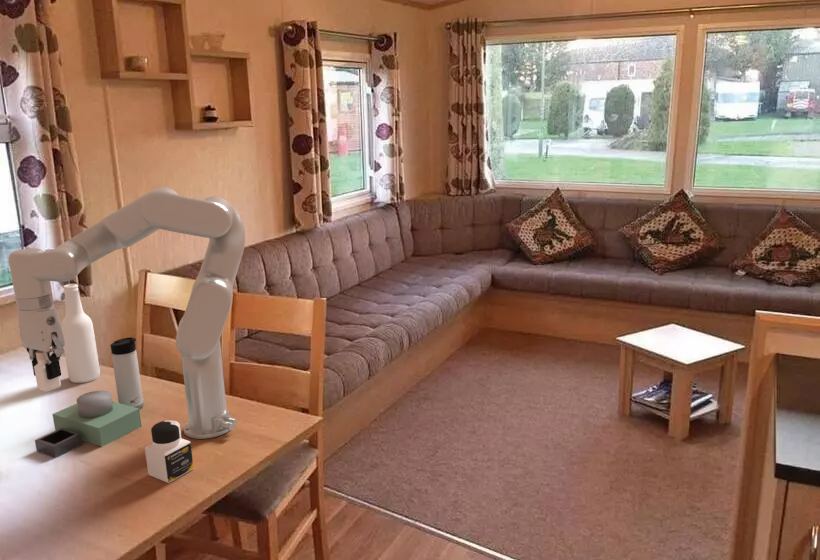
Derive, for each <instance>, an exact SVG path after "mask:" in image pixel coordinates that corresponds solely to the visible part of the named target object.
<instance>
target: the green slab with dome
mask: <svg viewBox="0 0 820 560" xmlns="http://www.w3.org/2000/svg"><path fill="white" fill-rule="evenodd" d="M112 400H113V399H112V393H111V392H110V391H109V390H108V391H107V390H94V391H90V392H86V393H84V394H82V395H79V396H78V397H77V398H76V403H75V404H72V405H71V406H67V407H66V408H64V409H61V410H59V411H56V412H54V413H52V419H53V425H54V431H56V430H58V429H60V428H65V429H68V430H71V431H74V432H77V433H80V434H81V439H82V442H86V443H89V444H93V445H95V446H99V447H102V448H103V447H104V446H106V445H108V444H110V443H112V442H113V441H115V440H118V439H119V438H122V437H123V436H125V435H127V434H129V433H132V432H133V431H135V430H137V429H139V428H140V427H142V426H143V425H142V420H141V412H140V409H139V408H135V407H131V406H128V405H124V404H120V403H119V402H116V401H112Z"/></svg>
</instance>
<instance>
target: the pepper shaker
mask: <svg viewBox="0 0 820 560" xmlns="http://www.w3.org/2000/svg"><path fill="white" fill-rule="evenodd" d="M52 353H53V352H50V353H49V355H50V356H51V354H52ZM36 358H37V361H38V364H36V365H35V366H34V370H35V376H34V377H35V381H36V385H37V389H38V390H40V391H43V392H46V393H47V392H49V391H52V390H55V389H59V388H60V387H62V382H61V376H59V377H56V378H54V379H51V380H49V379H47V373H46V368H45V364H46V363H47V362H46V359H45V356H44V353H43V351H39V350H38V351H36Z"/></svg>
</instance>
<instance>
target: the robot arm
mask: <svg viewBox="0 0 820 560" xmlns="http://www.w3.org/2000/svg"><path fill="white" fill-rule="evenodd" d="M159 230H163V231H168V232H173V233H177V234H184V235H189V236H195V237H200V238H205V239H206V238H208V240H209V241H208V245H207V248H206V252H205V255H204V257H203V260H202V264H201V267H200V269H199V271H198V274H197V276H196V279H195V280H194V282H193V284H192V288H191V293H190V296H189V299H188V302H187V304H186V308H185V312H183V316H182V317H181V319H180V321H179V323H178V326H177V331H176V335H175V344H176V348H177V350H178V352H179V353H180V354H181V363H182V371H183V380H184V381H183V382H184V389H185V399H186V406H187V407H186V408H187V417H188V421H187V422H186V423H184V425H183V428H182V429H183V433H184V435H186V437H189V438H192V439H199V440H202V439H203V440H204V439H211V438H216V437H219V436H222V435H225V434H226V433H228V432H230V431H233V430H234V429H235V425H236V424H237V423H238V419H236V418H234V417H233V416H232V415H231V411H230V410H228V408H227V400H226V391H225V390H226V389H225V380H224V371H223V370H224V369H223V368H224V366H223V359H222V347H221V336H222V334H223V332H224V328H225V326H226V323H227V320H228V317H229V315H230V311H231V310H232V309H231V308H232V305H233V297H234V296H233V295H234V294H233V293H234V292H233V290H234V289H233V288H234V283H235V280H236V277H237V275H238V272H239V267H240V265H241V262H242V257H243V254H244V251H245V245H246V232H245V231H246V230H245V226H244V222H243V219H242V217H241V216H240V214H239V212H238V211H237V209H235V207H234V206H233V205H232V204H231V202H229V201H228V200H226V199H225V198H222V197H220V196H216V195H215V196H207V197H206V198H204V199H200V198H194V197H190V196H184V195H180V194H179V193H178V192H177V191H175V190H174V189H173V188H170V187H167V186H161V187H157V188H154V189H152V190H151V191H149V192H146V193H145V194H143V195H141V196H140V197H137V198H136V199H135V200H132V201H131V202H129V203H127V204H126V205H124V206H122V207H121V208H119V209H117V210H115V211H113V212H112V213H110V214H108V215H107V216H105V217H104V218H102V219H101V220H100V221H99V222H97V223H96V224H94V225H92V226H90V227H89V228H87V229H85V230H83V231H82V232H79V233H78V234H76V235H74V236H73V237H71V238H69V239H68V240H66V241H64V242H63V243H61V244H59V245H58V246H57V247H55V248H54V249H52V250H49V251H44V250H43V249H41V248H23V249H18V250H14V251H12V252H11V253H9V255H8V265H9V271H10V276H11V282H12V287H13V293H14V297H15V298H14V299H15V303H16V310H17V314H18V329H19V334H20V339H21V344H22V347H24V348H25V350H26V352H27V353H28V355H29V360H31V365H32V371H33V376H34V377H36V376H35V370H34V366H35V365H36V364H38V361H37V358H36V351H38V350H39V351H43V353H44V356H45V359H46V362H47V363H46V364H45V368H46V373H47V379H49V380H51V379H54V378H56V377H59V376H60V377H61V375H62V369H61V365H60V360H61V357H62V355H63V354H65V351H64V346H65V339H64V334H63V330H62V325H61V322H62V321H61V318H60V316H59V313H58V311H57V308H56V306H55V302H54V295H53V289H52V284H51V283H52V282H60V283H61V282H62V283H63V282H69V281H72V280H73V279H75V278H76V277H78V275H79V274H80V273H81V272H82V271H83V270H84V269H85V268H86V267H88V266H90V265H92V264H93V263H95V262H97V261H98V260H100V259H101V258H103V257H105V256H107V255H109V254H111V253H113V252H116V251H118V250H124V249H126V248H129V247H132V246H135V244H137V243H140V242H141V241H142V240H144V239H146V238H148V237H149V236H150V235H152V234H154V233H156V232H157V231H159ZM51 347H52V348H51ZM50 352H51V353H52V354H51V356H50V355H49V353H50Z"/></svg>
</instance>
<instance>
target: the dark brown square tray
mask: <svg viewBox="0 0 820 560" xmlns="http://www.w3.org/2000/svg"><path fill="white" fill-rule="evenodd" d="M34 444H35V449H36V452H37V453H41V454H43V455H46V456H49V457H52V458H55V459H57V458H59V457H60V456H63V455H64V454H66V453H69V452H70V451H72V450H74V449H76V448H78V447H79V448H80V446H82V445H83V440H82V439H81V434H80V433H77V432H74V431H71V430H68V429H65V428H60V429H58V430H56V431H55V430H53V431H51V432H50V433H47V434H44V435H42V436H41V437H39V438H37V439H35V440H34Z"/></svg>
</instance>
